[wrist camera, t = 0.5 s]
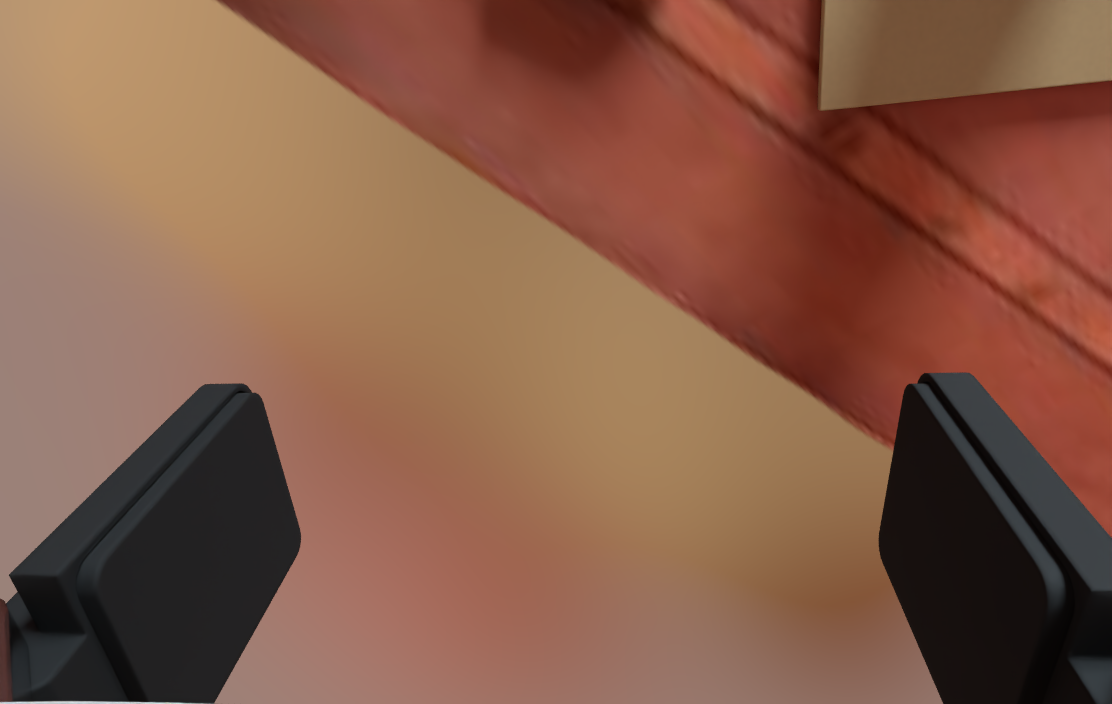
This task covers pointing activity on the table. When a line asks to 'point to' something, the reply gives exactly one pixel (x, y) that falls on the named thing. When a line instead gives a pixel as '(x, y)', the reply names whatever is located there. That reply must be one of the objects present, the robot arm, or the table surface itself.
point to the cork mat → (958, 48)
